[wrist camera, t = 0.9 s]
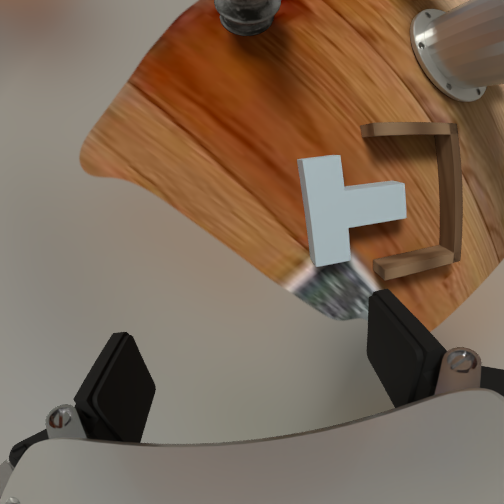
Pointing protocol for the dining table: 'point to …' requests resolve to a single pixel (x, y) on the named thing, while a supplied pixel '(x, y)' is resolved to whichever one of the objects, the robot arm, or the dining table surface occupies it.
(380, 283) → the dining table surface
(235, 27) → the grey stone statue
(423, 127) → the corral
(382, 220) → the t block
